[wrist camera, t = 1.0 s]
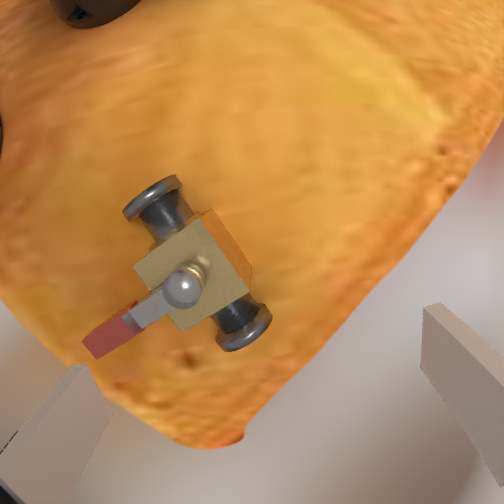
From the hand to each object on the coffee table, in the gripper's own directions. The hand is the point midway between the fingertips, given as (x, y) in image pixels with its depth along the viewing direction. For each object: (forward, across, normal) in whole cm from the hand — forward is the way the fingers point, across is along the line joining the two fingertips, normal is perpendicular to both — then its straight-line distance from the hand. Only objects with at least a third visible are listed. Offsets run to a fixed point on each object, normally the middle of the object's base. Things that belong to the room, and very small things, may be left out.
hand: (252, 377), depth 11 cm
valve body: (+26, -6, -1) cm, 27 cm away
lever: (+17, -11, -3) cm, 21 cm away
